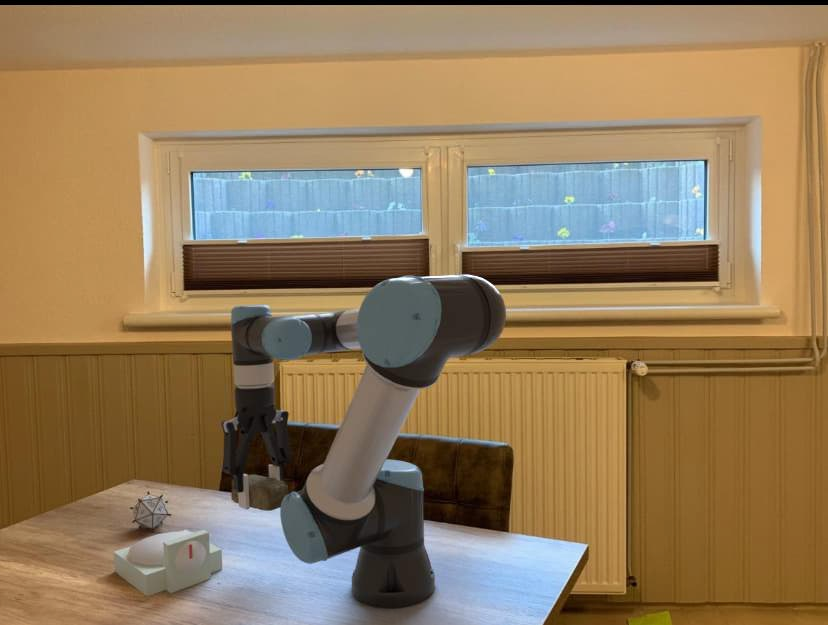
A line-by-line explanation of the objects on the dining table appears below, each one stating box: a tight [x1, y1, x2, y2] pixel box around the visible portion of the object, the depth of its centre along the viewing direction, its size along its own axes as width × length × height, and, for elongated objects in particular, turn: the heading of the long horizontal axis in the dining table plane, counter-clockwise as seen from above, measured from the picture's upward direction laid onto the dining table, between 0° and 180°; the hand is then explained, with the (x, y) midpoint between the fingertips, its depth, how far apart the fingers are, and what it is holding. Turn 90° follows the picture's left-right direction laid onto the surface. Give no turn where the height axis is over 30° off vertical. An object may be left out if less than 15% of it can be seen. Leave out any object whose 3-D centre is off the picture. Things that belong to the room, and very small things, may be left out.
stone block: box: [230, 474, 290, 512], centre depth 131 cm, size 6×12×5 cm, turn 54°
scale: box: [113, 529, 223, 597], centre depth 132 cm, size 18×15×9 cm
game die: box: [129, 490, 173, 533], centre depth 155 cm, size 9×8×10 cm
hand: (260, 502), depth 132 cm, fingers closed on stone block, 6 cm apart
